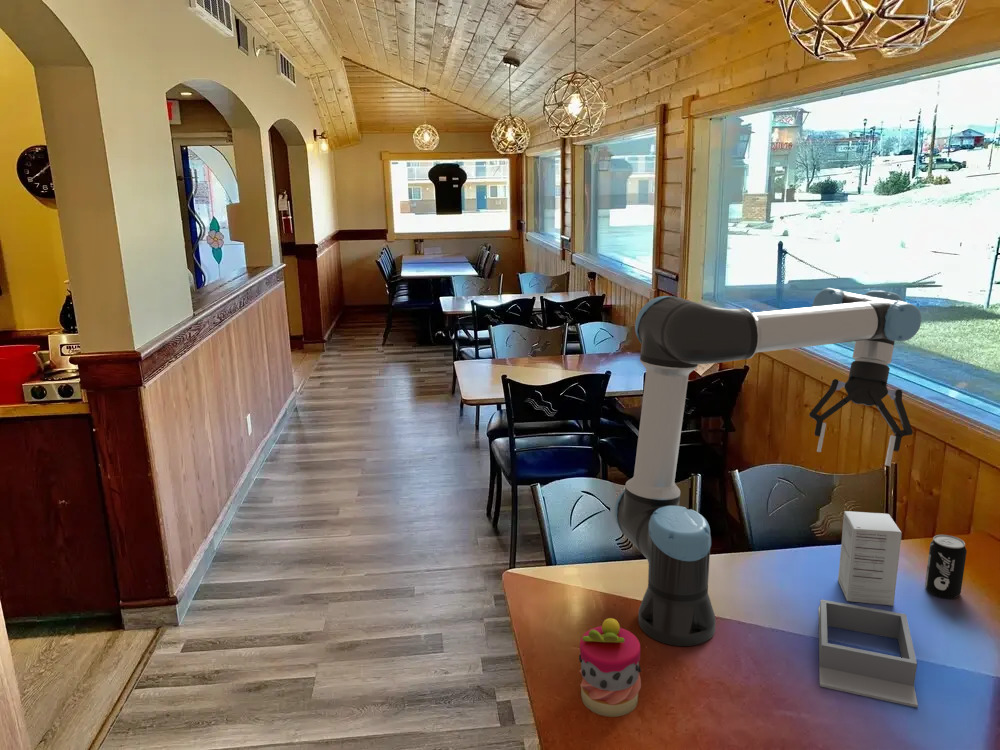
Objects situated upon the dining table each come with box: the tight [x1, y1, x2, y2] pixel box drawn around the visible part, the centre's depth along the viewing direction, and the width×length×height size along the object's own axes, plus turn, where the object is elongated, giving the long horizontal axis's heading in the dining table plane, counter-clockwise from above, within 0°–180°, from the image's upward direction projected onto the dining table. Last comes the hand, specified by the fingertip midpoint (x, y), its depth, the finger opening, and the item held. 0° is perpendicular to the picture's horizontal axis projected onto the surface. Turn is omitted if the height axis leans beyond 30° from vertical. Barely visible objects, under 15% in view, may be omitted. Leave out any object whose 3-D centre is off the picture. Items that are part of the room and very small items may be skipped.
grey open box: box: [817, 599, 919, 709], centre depth 133 cm, size 15×26×5 cm, turn 157°
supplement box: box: [837, 510, 903, 607], centre depth 151 cm, size 10×9×17 cm
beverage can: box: [924, 534, 968, 599], centre depth 151 cm, size 7×7×12 cm
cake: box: [578, 617, 642, 718], centre depth 122 cm, size 10×11×15 cm
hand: (852, 458), depth 154 cm, fingers open, 13 cm apart
